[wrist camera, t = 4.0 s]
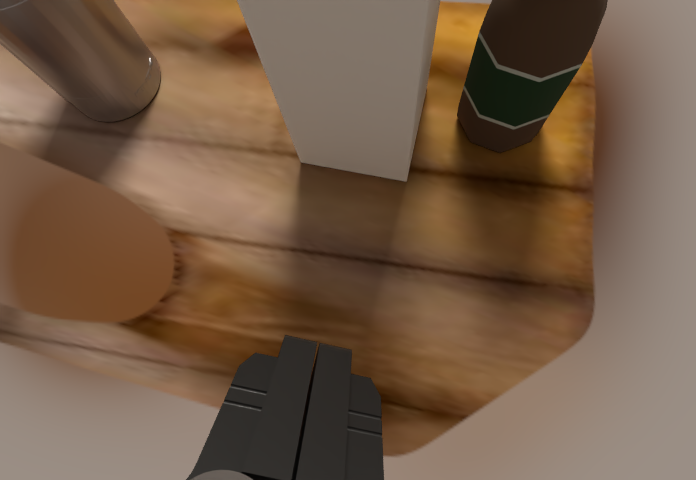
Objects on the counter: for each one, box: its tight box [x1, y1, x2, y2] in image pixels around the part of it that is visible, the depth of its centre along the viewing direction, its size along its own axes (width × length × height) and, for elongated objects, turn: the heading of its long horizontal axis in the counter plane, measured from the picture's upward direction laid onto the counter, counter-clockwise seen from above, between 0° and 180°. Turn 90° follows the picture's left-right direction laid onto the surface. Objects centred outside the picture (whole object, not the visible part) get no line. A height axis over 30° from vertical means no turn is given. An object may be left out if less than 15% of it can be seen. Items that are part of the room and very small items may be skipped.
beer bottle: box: [457, 0, 607, 153], centre depth 30 cm, size 8×8×24 cm
